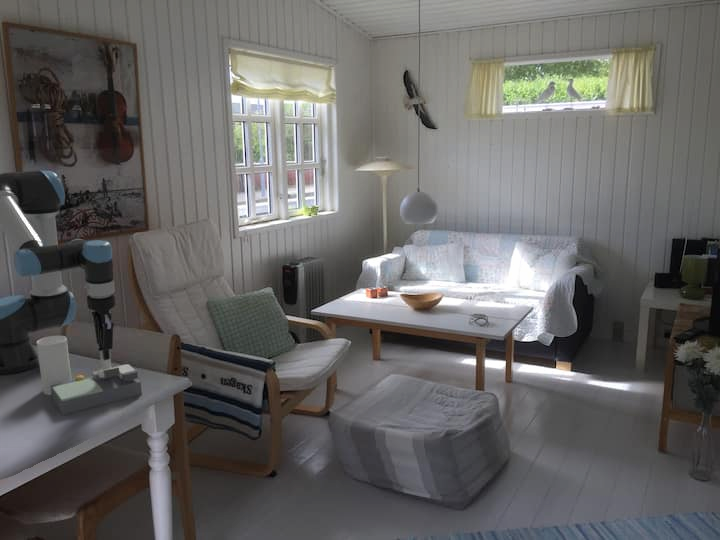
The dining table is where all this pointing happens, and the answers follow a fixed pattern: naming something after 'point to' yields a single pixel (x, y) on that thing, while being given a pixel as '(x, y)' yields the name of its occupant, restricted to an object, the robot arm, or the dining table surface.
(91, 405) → the panel
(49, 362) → the cup
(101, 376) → the light grey rectangular block
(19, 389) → the dining table surface
